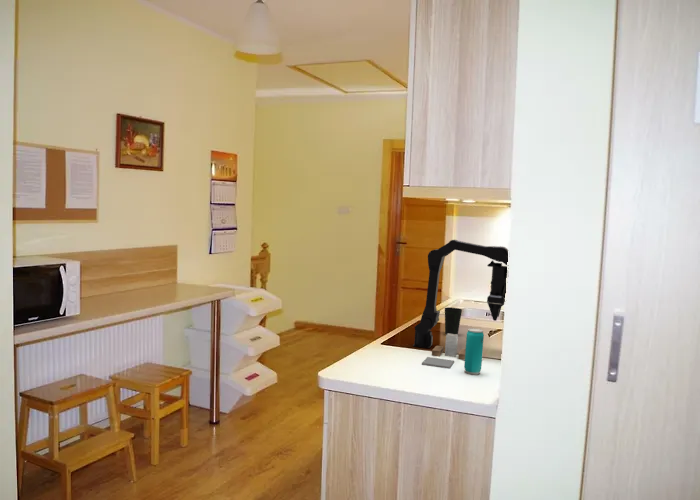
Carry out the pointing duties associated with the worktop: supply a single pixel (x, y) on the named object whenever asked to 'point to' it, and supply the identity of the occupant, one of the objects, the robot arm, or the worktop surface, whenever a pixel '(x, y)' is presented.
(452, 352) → the pale grey block
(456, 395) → the worktop surface
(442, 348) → the vise
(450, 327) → the cup
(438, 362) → the pad
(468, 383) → the worktop surface
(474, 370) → the beverage can
